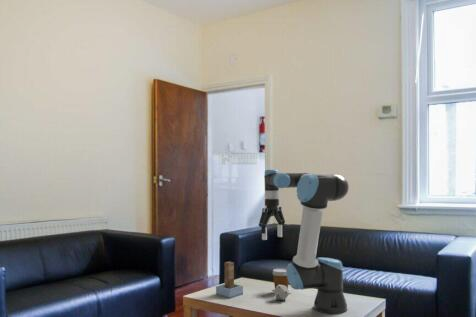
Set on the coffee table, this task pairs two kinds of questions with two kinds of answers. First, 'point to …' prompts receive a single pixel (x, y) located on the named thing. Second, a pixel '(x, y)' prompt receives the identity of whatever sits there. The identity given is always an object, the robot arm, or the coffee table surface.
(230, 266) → the long wooden beam
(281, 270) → the disposable coffee cup
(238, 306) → the coffee table surface
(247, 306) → the coffee table surface
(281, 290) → the game die
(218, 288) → the light blue square bin
